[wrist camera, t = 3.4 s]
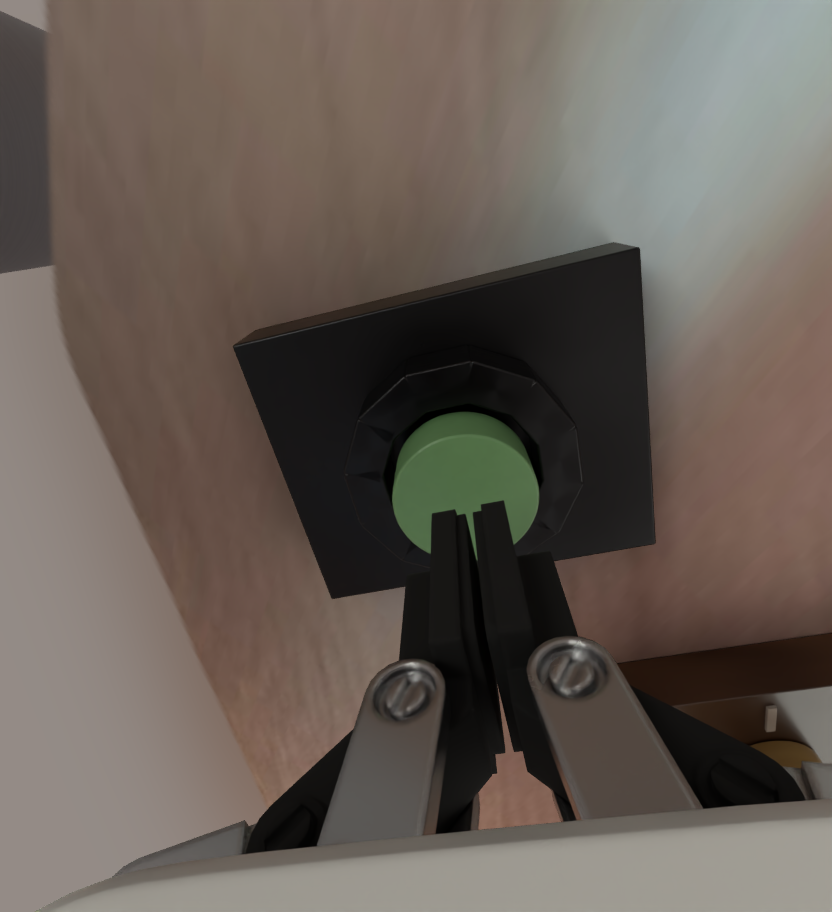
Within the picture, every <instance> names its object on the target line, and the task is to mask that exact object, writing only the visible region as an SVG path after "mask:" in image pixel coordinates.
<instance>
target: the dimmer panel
mask: <svg viewBox="0 0 832 912" xmlns="http://www.w3.org/2000/svg"><path fill="white" fill-rule="evenodd" d="M617 665H618V667H619V669H620V670H621V672H622V674H623V675H624V677H625V679H626V680H627V682H628V684H629V685H631V686H633V687H635V688H637V689H639V690H641V691H643V692H645V693H647V694H649V695H651V696H652V697H654V698H656V699H658V700H660V701H662V702H664V703H666V704H668V705H670V706H672V707H674V708H676V709H678V710H680V711H682V712H684V713H686V714H688V715H690V716H692V717H694V718H696V719H698V720H700V721H702V722H704V723H705V724H707V725H709V726H711V727H713V728H715V729H717V730H719V731H721V732H723V733H725V734H727V735H729V736H731V737H733V738H735V739H737V740H739V741H741V742H743V743H745V744H747V745H749V746H750V745H753V744H757V743H761V742H767V741H791V742H796V743H800V744H803V745H805V746H807V747H809V748H810V749H812V750H813V751H814V752H815V753H816V754H817V755H818V756H819V758H820V759H821V761H822V762H823V763H829V764H832V633H829V634H822V635H815V636H808V637H801V638H794V639H787V640H780V641H773V642H766V643H760V644H753V645H746V646H739V647H732V648H725V649H718V650H711V651H704V652H697V653H690V654H683V655H676V656H669V657H662V658H655V659H648V660H641V661H634V662H627V663H620V664H617Z"/></svg>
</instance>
